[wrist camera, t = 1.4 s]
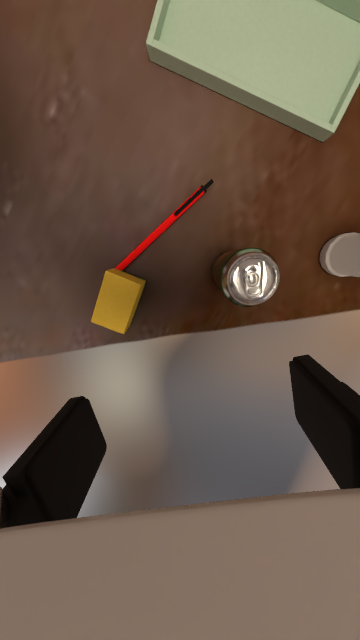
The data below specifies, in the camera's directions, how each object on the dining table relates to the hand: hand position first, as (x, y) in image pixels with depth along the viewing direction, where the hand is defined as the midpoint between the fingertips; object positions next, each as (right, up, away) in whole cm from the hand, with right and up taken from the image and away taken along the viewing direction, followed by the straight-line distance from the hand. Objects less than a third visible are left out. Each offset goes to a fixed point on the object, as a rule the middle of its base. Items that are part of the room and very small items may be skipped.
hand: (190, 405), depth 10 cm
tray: (+8, +33, +13) cm, 36 cm away
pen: (-4, +15, +19) cm, 25 cm away
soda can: (+6, +11, +20) cm, 23 cm away
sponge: (-8, +7, +21) cm, 24 cm away
